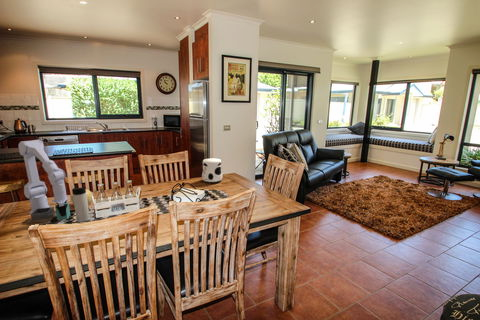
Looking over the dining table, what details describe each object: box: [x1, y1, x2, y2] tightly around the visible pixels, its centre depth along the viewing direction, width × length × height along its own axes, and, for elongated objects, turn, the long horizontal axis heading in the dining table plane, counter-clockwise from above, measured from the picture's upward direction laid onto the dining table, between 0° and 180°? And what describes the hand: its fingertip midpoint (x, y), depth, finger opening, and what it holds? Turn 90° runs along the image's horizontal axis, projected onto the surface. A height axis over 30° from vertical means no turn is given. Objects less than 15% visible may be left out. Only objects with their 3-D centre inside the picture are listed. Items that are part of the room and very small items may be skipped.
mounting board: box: [26, 213, 57, 225], centre depth 147 cm, size 13×11×1 cm
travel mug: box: [71, 186, 91, 224], centre depth 141 cm, size 6×7×20 cm
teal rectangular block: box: [54, 202, 71, 221], centre depth 146 cm, size 5×5×8 cm
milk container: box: [201, 157, 224, 184], centre depth 214 cm, size 17×17×18 cm
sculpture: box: [70, 188, 94, 205], centre depth 165 cm, size 12×12×11 cm
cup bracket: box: [28, 206, 56, 221], centre depth 146 cm, size 10×10×3 cm
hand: (63, 213), depth 146 cm, fingers closed on teal rectangular block, 6 cm apart
